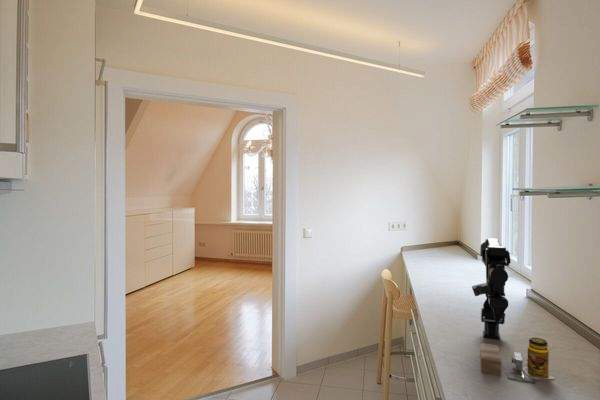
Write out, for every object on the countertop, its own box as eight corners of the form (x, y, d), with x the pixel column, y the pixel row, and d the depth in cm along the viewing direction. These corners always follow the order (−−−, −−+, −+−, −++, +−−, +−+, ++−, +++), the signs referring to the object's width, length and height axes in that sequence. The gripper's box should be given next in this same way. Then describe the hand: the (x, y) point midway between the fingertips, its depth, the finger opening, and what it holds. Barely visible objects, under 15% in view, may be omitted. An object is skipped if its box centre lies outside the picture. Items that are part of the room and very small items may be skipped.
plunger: (510, 362, 134) (510, 351, 134) (519, 364, 133) (520, 352, 133) (513, 376, 124) (513, 364, 124) (524, 378, 123) (524, 366, 123)
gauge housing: (480, 355, 142) (480, 342, 141) (529, 363, 135) (529, 350, 135) (481, 373, 128) (481, 359, 128) (535, 383, 121) (536, 368, 121)
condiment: (533, 379, 124) (533, 344, 124) (519, 367, 133) (519, 334, 132) (555, 379, 124) (556, 344, 124) (539, 367, 132) (540, 334, 132)
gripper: (471, 272, 157) (471, 308, 157) (475, 281, 139) (474, 322, 139) (501, 274, 152) (501, 312, 153) (509, 284, 135) (508, 327, 135)
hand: (495, 318), depth 145 cm, fingers open, 9 cm apart
